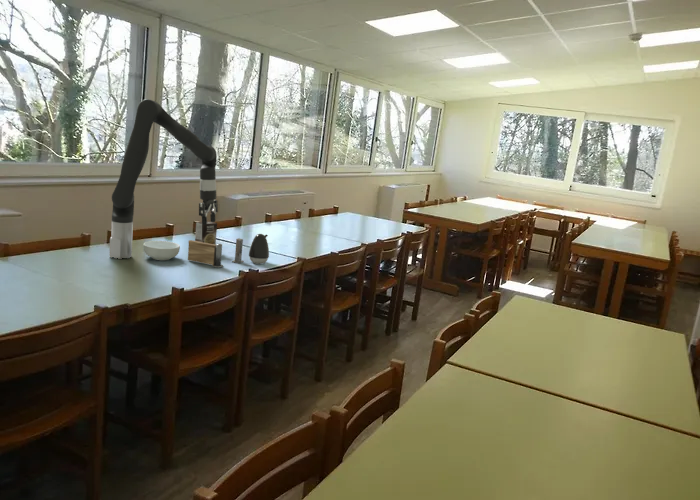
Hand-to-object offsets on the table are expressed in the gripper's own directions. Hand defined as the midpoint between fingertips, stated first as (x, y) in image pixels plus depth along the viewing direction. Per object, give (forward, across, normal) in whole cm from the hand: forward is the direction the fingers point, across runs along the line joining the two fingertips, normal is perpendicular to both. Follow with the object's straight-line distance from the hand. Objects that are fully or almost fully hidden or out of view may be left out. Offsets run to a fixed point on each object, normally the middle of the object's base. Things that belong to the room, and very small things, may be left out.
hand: (208, 223), depth 256 cm
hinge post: (+21, -1, +4) cm, 21 cm away
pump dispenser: (+23, -20, +17) cm, 35 cm away
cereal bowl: (+19, +3, -24) cm, 31 cm away
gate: (+20, -1, -5) cm, 20 cm away
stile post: (+22, -15, +8) cm, 27 cm away
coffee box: (+20, -22, -14) cm, 33 cm away
